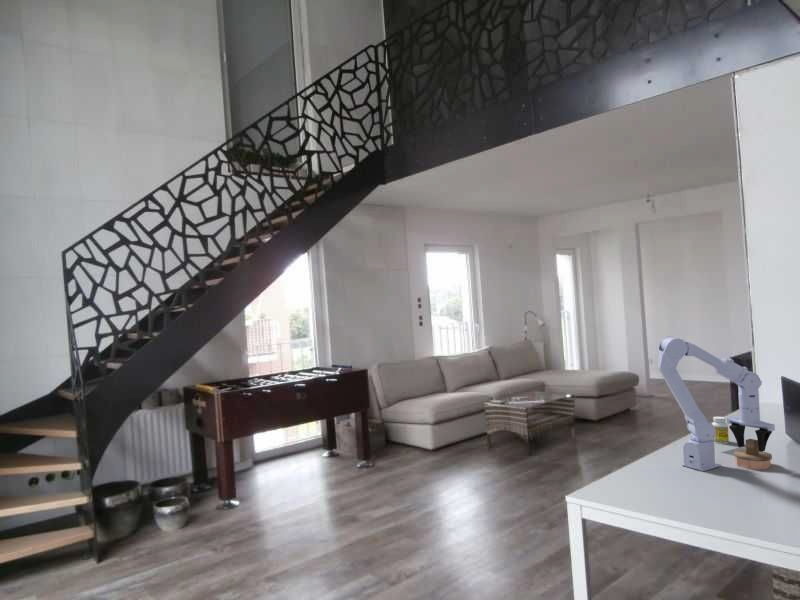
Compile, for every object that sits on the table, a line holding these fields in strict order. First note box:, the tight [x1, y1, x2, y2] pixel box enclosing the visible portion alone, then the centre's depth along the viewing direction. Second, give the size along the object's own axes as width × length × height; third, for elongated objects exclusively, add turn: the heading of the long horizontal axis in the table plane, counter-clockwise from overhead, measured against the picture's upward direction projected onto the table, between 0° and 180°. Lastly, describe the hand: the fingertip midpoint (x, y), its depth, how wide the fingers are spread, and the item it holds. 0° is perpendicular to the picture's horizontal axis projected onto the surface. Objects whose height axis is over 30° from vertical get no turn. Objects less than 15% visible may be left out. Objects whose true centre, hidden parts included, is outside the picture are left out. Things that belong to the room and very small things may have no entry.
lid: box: [733, 438, 773, 461], centre depth 184 cm, size 11×11×5 cm
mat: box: [720, 447, 746, 456], centre depth 197 cm, size 11×11×1 cm
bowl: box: [733, 455, 772, 471], centre depth 184 cm, size 10×10×3 cm
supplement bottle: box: [711, 416, 730, 445], centre depth 213 cm, size 5×5×10 cm
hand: (751, 448), depth 184 cm, fingers open, 6 cm apart
